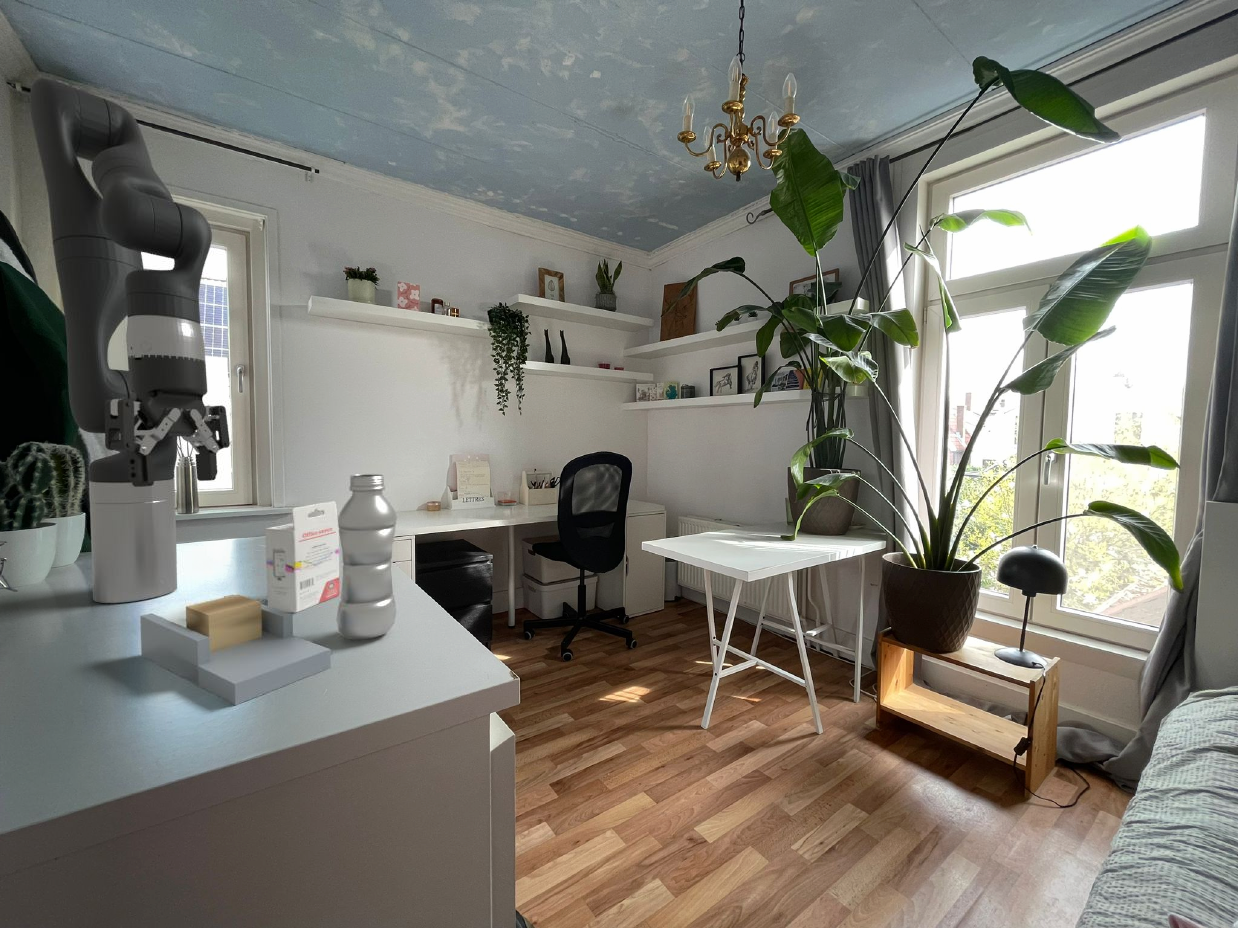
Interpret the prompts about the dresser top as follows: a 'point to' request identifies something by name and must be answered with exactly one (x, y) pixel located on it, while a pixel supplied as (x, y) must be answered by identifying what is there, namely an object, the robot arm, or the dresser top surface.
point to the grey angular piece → (234, 656)
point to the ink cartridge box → (303, 559)
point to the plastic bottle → (366, 560)
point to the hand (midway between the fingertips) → (176, 483)
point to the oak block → (226, 620)
